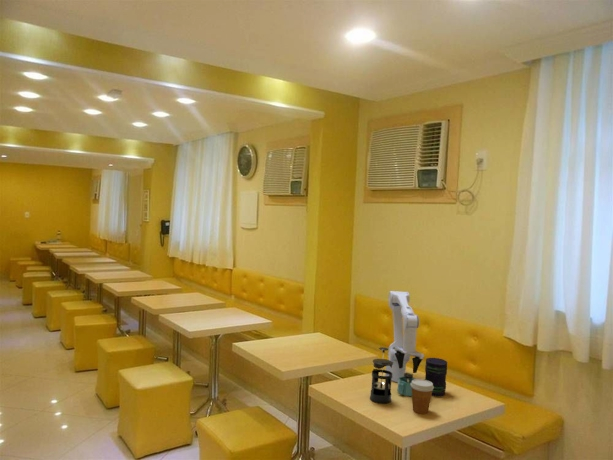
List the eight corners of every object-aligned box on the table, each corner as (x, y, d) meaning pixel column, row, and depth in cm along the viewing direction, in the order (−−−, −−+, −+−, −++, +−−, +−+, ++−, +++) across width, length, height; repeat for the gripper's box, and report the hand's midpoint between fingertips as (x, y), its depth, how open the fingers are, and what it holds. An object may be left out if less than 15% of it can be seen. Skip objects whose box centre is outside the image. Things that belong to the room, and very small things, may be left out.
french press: (396, 403, 199) (399, 350, 198) (377, 405, 196) (380, 352, 195) (382, 393, 210) (385, 343, 209) (364, 395, 206) (367, 344, 206)
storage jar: (443, 389, 219) (445, 358, 219) (447, 397, 209) (449, 365, 209) (422, 387, 220) (424, 356, 220) (425, 395, 210) (427, 363, 210)
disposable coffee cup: (415, 404, 199) (416, 376, 199) (435, 411, 193) (437, 382, 193) (404, 410, 192) (406, 382, 192) (426, 417, 186) (428, 388, 186)
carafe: (392, 392, 211) (392, 379, 211) (404, 387, 218) (405, 375, 218) (407, 398, 205) (408, 385, 205) (420, 393, 212) (421, 380, 212)
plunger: (397, 390, 213) (398, 373, 212) (405, 387, 217) (406, 371, 217) (409, 395, 208) (410, 377, 208) (417, 391, 212) (418, 374, 212)
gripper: (391, 338, 214) (389, 367, 215) (418, 346, 204) (416, 376, 204) (400, 336, 219) (398, 364, 220) (427, 343, 209) (425, 373, 209)
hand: (407, 370), depth 212 cm, fingers open, 7 cm apart
